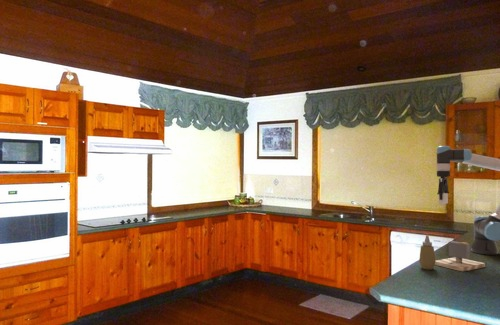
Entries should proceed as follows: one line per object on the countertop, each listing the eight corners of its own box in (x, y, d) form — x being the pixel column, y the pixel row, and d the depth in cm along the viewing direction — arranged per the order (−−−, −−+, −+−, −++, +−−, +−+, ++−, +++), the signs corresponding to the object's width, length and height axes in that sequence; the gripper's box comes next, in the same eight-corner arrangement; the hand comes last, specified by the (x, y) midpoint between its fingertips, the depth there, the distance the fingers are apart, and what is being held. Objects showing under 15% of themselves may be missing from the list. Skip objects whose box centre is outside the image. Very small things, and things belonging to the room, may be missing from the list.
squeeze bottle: (426, 270, 210) (426, 236, 210) (415, 267, 217) (415, 234, 217) (438, 269, 212) (438, 236, 212) (428, 266, 219) (428, 233, 220)
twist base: (456, 260, 233) (456, 252, 233) (484, 266, 218) (484, 258, 218) (433, 264, 223) (433, 256, 223) (462, 271, 208) (462, 262, 208)
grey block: (448, 255, 224) (448, 240, 224) (452, 255, 226) (452, 240, 226) (466, 259, 216) (466, 243, 216) (469, 258, 218) (469, 242, 218)
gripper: (446, 170, 236) (446, 206, 236) (453, 170, 256) (453, 203, 256) (432, 170, 240) (432, 205, 240) (440, 170, 260) (440, 202, 260)
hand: (443, 204), depth 248 cm, fingers open, 13 cm apart
